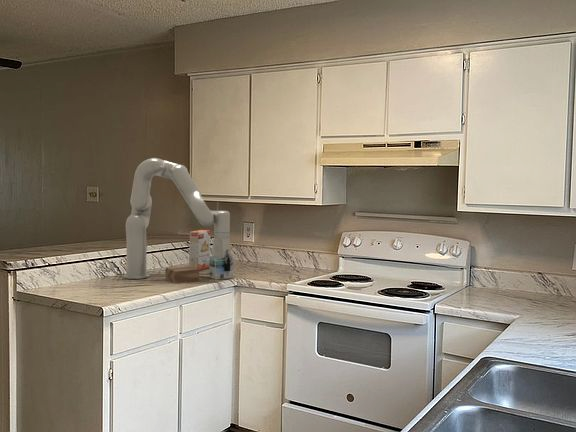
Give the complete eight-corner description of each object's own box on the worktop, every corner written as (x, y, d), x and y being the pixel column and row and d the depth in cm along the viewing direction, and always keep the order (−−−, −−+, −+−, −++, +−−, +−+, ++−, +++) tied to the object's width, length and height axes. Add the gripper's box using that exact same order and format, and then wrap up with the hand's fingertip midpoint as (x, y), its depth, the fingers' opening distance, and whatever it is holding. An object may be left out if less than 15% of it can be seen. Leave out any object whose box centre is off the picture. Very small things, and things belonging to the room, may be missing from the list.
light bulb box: (215, 279, 292) (215, 257, 292) (208, 277, 298) (208, 256, 297) (234, 277, 299) (234, 256, 298) (227, 276, 304) (227, 254, 304)
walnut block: (165, 280, 290) (165, 267, 290) (188, 278, 297) (188, 266, 296) (175, 283, 280) (175, 271, 280) (198, 281, 287) (199, 269, 287)
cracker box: (198, 271, 317) (199, 232, 316) (188, 270, 319) (188, 231, 318) (210, 267, 331) (210, 230, 329) (200, 267, 333) (201, 229, 331)
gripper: (206, 234, 301) (205, 268, 302) (225, 237, 288) (225, 272, 289) (218, 233, 306) (218, 267, 307) (238, 236, 293) (237, 271, 294)
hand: (221, 269), depth 298 cm, fingers open, 9 cm apart
